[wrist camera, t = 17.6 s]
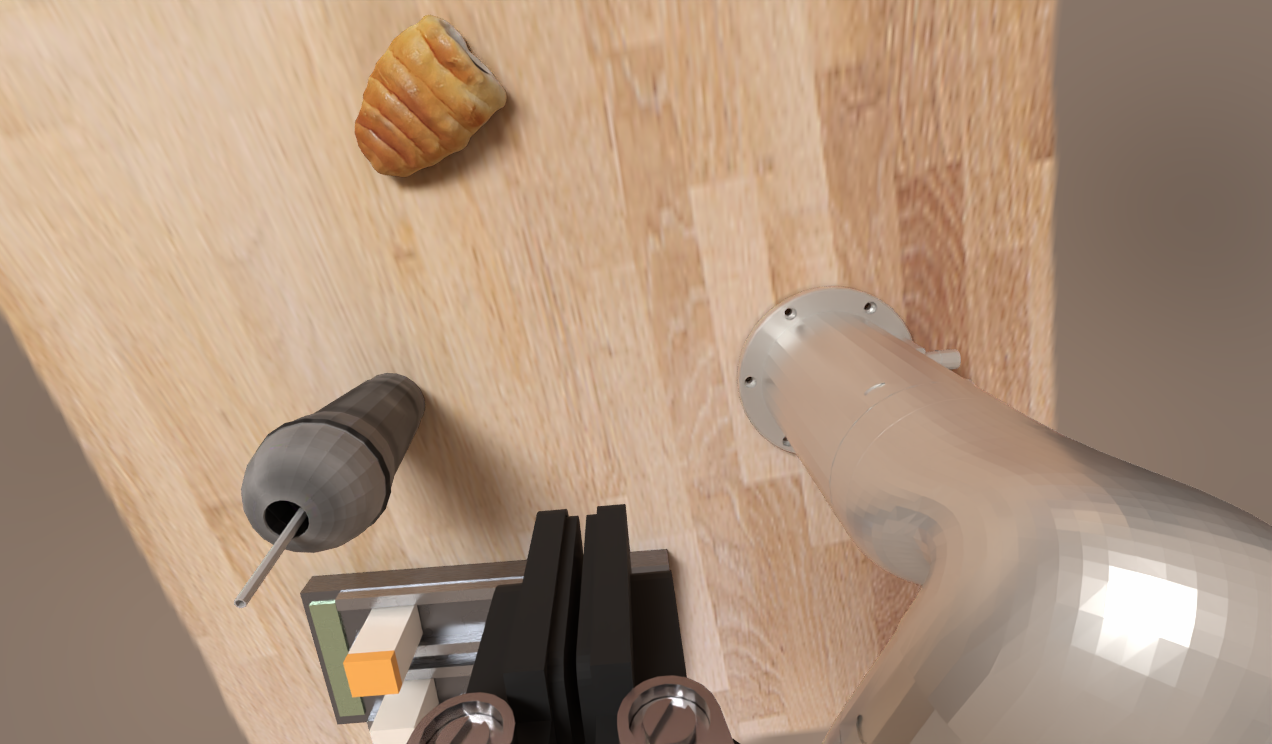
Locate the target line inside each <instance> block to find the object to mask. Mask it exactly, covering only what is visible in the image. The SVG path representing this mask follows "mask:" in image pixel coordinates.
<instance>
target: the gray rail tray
mask: <svg viewBox="0 0 1272 744" xmlns="http://www.w3.org/2000/svg"><path fill="white" fill-rule="evenodd" d="M630 558H631V569H632V573H644V572H655V571H667V570H669V561H668V554H667V549H664V550H651V551H638V552H630ZM526 563H527V560H521V561H508V562H495V563H482V564H469V565H456V566H443V567H430V568H417V569H404V570H391V571H378V572H365V573H352V574H339V575H325V576H312V578H311V579H310V580H309V582H308V583H307V584H306V586H305V587H304V589H303V590H302V591H301V593H300V594H301V598H302V601H303V605H304V608H305V612H306V615H307V619H308V622H309V626H310V630H311V633H312V637H313V640H314V644H315V647H316V651H317V654H318V658H319V661H320V665H321V668H322V672H323V675H324V679H325V682H326V686H327V689H328V693H329V696H330V700H331V703H332V707H333V710H334V714H335V717H336V721H337V724H349V723H361V722H367V724H368V728H369V731H370V729H371V726H372V724H373V722H374V719H375V717H376V715H377V712H378V710H379V708H380V705H381V703H382V701H383V698H384V696H385V695H376V696H363V697H352V694H351V691H350V687H349V683H348V679H347V676H346V672H345V668H344V665H343V662H344V660H345V658H346V656H347V654H348V653H349V651H350V649H351V647H352V645H353V643H354V641H355V640H356V638H357V636H358V634H359V632H360V630H361V628H362V627H363V625H364V623H365V621H366V619H367V617H368V616H369V614H370V612H371V610H372V608H384V607H397V606H409V605H417V608H418V613H419V617H420V622H421V627H422V631H423V635H422V637H421V640H420V642H419V645H418V647H417V650H416V652H415V655H414V657H413V660H412V662H411V665H410V667H409V670H408V672H407V674H406V677H405V679H404V681H407V680H420V679H433V678H434V682H435V687H436V692H437V696H438V701H439V704H441V703H443V702H445V701H446V700H448V699H450V698H453V697H456V696H459V695H462V694H466V691H467V688H468V684H469V680H470V677H471V673H472V670H473V666H474V662H475V659H476V655H477V652H478V648H479V644H480V641H481V637H482V634H483V630H484V626H485V623H486V619H487V615H488V612H489V608H490V605H491V601H492V597H493V594H494V591H495V588H496V587H497V586H498V585H504V584H516V583H522V582H523V577H524V572H525V568H526ZM439 704H438V705H439Z"/></svg>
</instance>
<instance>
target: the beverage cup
mask: <svg viewBox="0 0 1272 744" xmlns="http://www.w3.org/2000/svg"><path fill="white" fill-rule="evenodd" d="M424 410H425V400H424V397H423V395H422V392H421V390H420V389H419V388H418V386H417V385H416V384H415V383H414V382H413V381H411V380H410V379H408V378H407V377H405V376H402V375H399V374H393V373H385V374H381V375H377V376H375V377H374V378H372V379H370V380H367V381H365V382H364V383H362V384H361V385H359V386H357V387H356V388H354V389H352V390H351V391H349V392H348V393H346V394H344V395H343V396H341V397H340V398H338V399H336V400H335V401H333V402H332V403H330V404H328V405H327V406H325V407H324V408H322V409H320V410H319V411H317V412H315V413H314V414H311V415H307V416H304V417H302V418H299V419H297V420H294V421H292V422H288V423H284V424H283V425H281V426H280V427H278V428H277V429H275V430H274V431H272V432H271V433H269V434H268V435H267V437H266V438H265V439H264V441H263V442H262V444H261V445H260V446H259V448H258V449H257V451H256V453H255V454H254V456H253V457H252V459H251V460H250V462H249V463H248V465H247V468H246V471H245V475H244V479H243V484H242V488H241V495H242V502H243V508H244V512H245V514H246V516H247V518H248V520H249V522H250V523H251V525H252V527H253V528H254V529H255V530H256V532H257V533H258V534H259V535H260V536H261V537H262V538H263V539H265V540H267V541H268V542H270V543H272V544H273V546H272V548H271V549H270V551H269V552H268V554H267V555H266V556H265V558H264V559H263V561H262V562H261V564H260V565H259V566H258V568H257V569H256V571H255V572H254V573H253V575H252V576H251V578H250V579H249V581H248V582H247V583H246V585H245V586H244V588H243V589H242V590H241V592H240V593H239V595H238V596H237V598H236V599H235V600H234V605H235V606H237V607H239V608H243V607H246V605H247V604H248V602H249V601H250V599H251V598H252V597H253V595H254V594H255V592H256V591H257V589H258V588H259V586H260V585H261V583H262V582H263V580H264V579H265V577H266V576H267V574H268V573H269V572H270V570H271V569H272V567H273V566H274V564H275V563H276V561H277V560H278V558H279V557H280V555H281V554H282V552H283V551H284V550H285V549H286V550H290V551H293V552H310V553H315V552H320V551H324V550H328V549H332V548H336V547H339V546H341V545H343V544H345V543H347V542H348V541H350V540H352V539H353V538H355V537H357V536H358V535H360V534H361V533H362V532H364V531H365V530H366V529H367V528H368V527H369V526H371V525H372V524H374V523H375V522H376V520H377V519H378V518H379V517H380V515H381V514H382V513H383V512H384V510H385V509H386V506H387V503H388V500H389V497H390V494H391V486H392V483H393V479H394V475H395V473H396V471H397V469H398V467H399V465H400V463H401V461H402V459H403V457H404V455H405V453H406V451H407V449H408V447H409V445H410V443H411V441H412V439H413V437H414V435H415V433H416V431H417V429H418V427H419V424H420V421H421V418H422V416H423V413H424Z"/></svg>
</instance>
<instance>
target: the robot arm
mask: <svg viewBox="0 0 1272 744" xmlns="http://www.w3.org/2000/svg"><path fill="white" fill-rule="evenodd" d="M867 303H869V306H868V307H867V308H866V309H864V307H865V305H866V304H867ZM787 308H790V313H789V314H785V313H784V312H785V310H786V309H787ZM960 363H961V357H960V354H959V352H958V351H957V349H948V350H935V351H934V352H925V349H924V348H923V347H921V346H919V345H917V344H916V343H914V342H913V341H912V337H911V334H910V333H909V331H908V329H907V327H906V325H905V323H904V321H903V320H902V319H901V318H900V317H899V315H898V314H897V313H896V312H895V311H894V310H893V309H892V308H891V307H890V306H888V305H887V304H886V303H884V302H883V301H882V300H880V299H878V298H876V297H874V296H872V295H871V294H869V293H866V292H863V291H860V290H857V289H854V288H848V287H840V286H828V287H817V288H813V289H809V290H806V291H802V292H799V293H797V294H795V295H793V296H791V297H789V298H786V299H785V300H783V301H782V302H780V303H779V304H777V305H776V306H775V307H773V308H772V309H770V310H769V311H768V312H767V313H766V314H765V315H764V316H763V317H762V318H761V319H760V320H759V321H758V323H757V324H756V326H755V327H754V328H753V330H752V331H751V333H750V334H749V336H748V338H747V340H746V342H745V344H744V347H743V349H742V351H741V355H740V359H739V363H738V369H737V386H738V392H739V398H740V401H741V403H742V406H743V408H744V411H745V413H746V415H747V417H748V418H749V420H750V422H751V424H752V425H753V426H754V427H755V428H756V430H757V431H758V432H759V433H760V434H761V435H762V436H763V437H764V438H765V439H767V440H768V441H769V442H770V443H772V444H773V445H775V446H777V447H779V448H781V449H782V450H785V451H788V452H791V453H794V454H797V455H798V457H799V458H800V460H801V462H802V463H803V465H804V466H805V468H806V469H807V471H808V473H809V474H810V476H811V477H812V479H813V480H814V482H815V484H816V485H817V487H818V488H819V490H820V491H821V493H822V495H823V496H824V498H825V499H826V501H827V502H828V504H829V506H830V507H831V509H832V510H833V512H834V513H835V515H836V517H837V518H838V519H839V521H840V522H841V524H842V526H843V527H844V529H845V530H846V532H847V533H848V535H849V536H850V538H851V539H852V541H853V542H854V543H855V544H856V546H857V547H858V548H859V549H860V550H861V551H862V553H863V554H864V555H866V556H867V557H868V558H869V559H870V560H871V561H872V562H874V563H875V564H876V565H878V566H879V567H881V568H882V569H884V570H885V571H887V572H889V573H891V574H893V575H895V576H896V577H899V578H901V579H903V580H906V581H909V582H912V583H915V584H918V585H922V588H921V589H920V591H919V593H918V594H917V596H916V598H915V599H914V601H913V602H912V604H911V606H910V607H909V609H908V610H907V611H906V613H905V614H904V616H903V617H902V619H901V620H900V622H899V624H898V628H897V630H896V632H895V633H894V634H893V636H892V637H891V639H890V640H889V642H888V643H887V645H886V646H885V648H884V649H883V651H882V652H881V653H880V655H879V656H878V658H877V659H876V661H875V662H874V664H873V665H872V667H871V668H870V670H869V671H868V672H867V674H866V675H865V677H864V678H863V680H862V681H861V683H860V684H859V686H858V687H857V688H856V690H855V691H854V693H853V694H852V696H851V697H850V699H849V700H848V702H847V703H846V705H845V706H844V707H843V709H842V711H841V712H840V714H839V715H838V717H837V718H836V720H835V721H834V723H833V725H832V726H831V728H830V730H829V731H828V734H827V735H826V737H825V739H824V740H823V742H822V744H1272V526H1271V525H1269V524H1268V523H1266V522H1264V521H1262V520H1261V519H1259V518H1257V517H1255V516H1254V515H1252V514H1251V513H1249V512H1246V511H1245V510H1243V509H1240V508H1238V507H1236V506H1234V505H1232V504H1230V503H1228V502H1226V501H1223V500H1221V499H1219V498H1217V497H1215V496H1212V495H1210V494H1208V493H1206V492H1204V491H1201V490H1199V489H1197V488H1194V487H1192V486H1189V485H1186V484H1184V483H1181V482H1179V481H1176V480H1174V479H1171V478H1168V477H1166V476H1163V475H1160V474H1158V473H1155V472H1152V471H1149V470H1147V469H1145V468H1142V467H1139V466H1137V465H1134V464H1131V463H1129V462H1126V461H1124V460H1121V459H1118V458H1116V457H1113V456H1110V455H1108V454H1105V453H1103V452H1100V451H1098V450H1096V449H1094V448H1091V447H1089V446H1087V445H1085V444H1082V443H1080V442H1078V441H1075V440H1073V439H1071V438H1068V437H1067V436H1064V435H1062V434H1060V433H1058V432H1056V431H1055V430H1053V429H1051V428H1049V427H1047V426H1045V425H1043V424H1041V423H1039V422H1037V421H1035V420H1034V419H1032V418H1030V417H1028V416H1027V415H1025V414H1023V413H1021V412H1019V411H1018V410H1016V409H1014V408H1013V407H1011V406H1009V405H1008V404H1006V403H1004V402H1003V401H1001V400H999V399H998V398H996V397H994V396H993V395H991V394H989V393H988V392H986V391H984V390H982V389H980V388H979V387H977V386H976V385H974V383H973V382H972V380H971V379H964V378H962V377H961V376H959V375H958V374H956V373H954V372H953V371H951V370H949V369H957V368H958V367H959V366H960ZM748 377H751V380H750V381H745V379H746V378H748ZM785 436H786V439H783V438H784V437H785ZM406 744H740V743H738V742H737V741H735V740H734V739H732V737H731V734H730V731H729V729H728V726H727V724H726V721H725V718H724V716H723V713H722V711H721V708H720V705H719V704H718V702H717V700H716V699H715V697H714V695H713V694H712V693H711V692H710V691H709V690H708V689H707V688H705V687H704V686H703V685H702V684H700V683H698V682H696V681H694V680H691V679H689V678H687V675H686V669H685V662H684V655H683V648H682V641H681V634H680V627H679V620H678V613H677V606H676V599H675V592H674V586H673V579H672V572H671V570H667V571H655V572H644V573H632V569H631V558H630V547H629V536H628V526H627V515H626V505H625V504H621V505H609V506H598V507H597V514H593V515H587V517H586V529H585V543H584V555H583V547H582V538H581V530H580V522H579V517H578V516H570V517H569V516H568V511H567V509H562V510H550V511H539V512H538V513H537V517H536V521H535V526H534V531H533V535H532V540H531V544H530V549H529V554H528V558H527V563H526V568H525V572H524V577H523V582H522V583H516V584H504V585H498V586H497V587H496V588H495V591H494V594H493V597H492V601H491V605H490V608H489V612H488V615H487V619H486V623H485V626H484V630H483V634H482V637H481V641H480V644H479V648H478V652H477V655H476V659H475V662H474V666H473V670H472V673H471V677H470V680H469V684H468V688H467V691H466V694H462V695H459V696H456V697H453V698H450V699H448V700H446V701H445V702H443V703H441V704H439V705H438V706H436V707H434V708H433V709H432V710H431V711H430V712H429V713H428V714H427V715H425V716H424V717H423V718H422V719H421V721H420V722H419V723H418V725H417V726H416V728H415V729H414V731H413V732H412V734H411V736H410V738H409V739H408V741H407V743H406Z"/></svg>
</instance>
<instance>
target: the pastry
mask: <svg viewBox="0 0 1272 744" xmlns="http://www.w3.org/2000/svg"><path fill="white" fill-rule="evenodd" d="M506 100H507V97H506V91H505V89H504V88H503V86H502V85H501V84H500V83H499V82H498V80H496V78H495V77H494V75H493V74H492V72H491V71H490V70H489V69H488V68H487V67H486V66H485V65H484V64H483V63H481V61H480V60H479V59H477V58H476V57H475V56H474V55H473V54H472V53H470V52H469V50H468V48H467V45H466V42H465V40H464V39H463V37H462V36H461V34H460V33H459V32H458V31H457V30H456V29H455V28H454V27H453V26H452V25H451V24H450V23H448V22H447V21H445V20H443V19H441V18H439V17H436V16H432V15H426V16H424V17H423V18H422V20H421V21H420V22H418V23H417V24H415V25H413V26H410V27H408V28H407V29H406V30H404V31H403V32H402V33H401V34H400V35H399V36H397V37H396V38H395V39H394V40H393V41H392V43H391V44H390V46H389V48H388V49H387V51H386V53H385V54H384V55H383V56H382V57H381V58H380V59H379V60H378V62H377V63H376V66H375V69H374V71H373V73H372V74H371V75H370V77H369V79H368V85H367V88H366V90H365V92H364V94H363V102H362V107H361V110H360V112H359V115H358V117H357V119H356V121H355V135H356V138H357V142H358V146H359V147H360V149H361V151H362V153H363V154H364V155H365V157H366V158H367V159H368V160H369V161H370V162H371V164H372V166H373V168H374V169H375V170H376V171H377V172H378V173H380V174H383V175H391V176H399V177H407V176H410V175H411V174H413V173H415V172H417V171H418V170H421V169H422V168H426V167H429V166H433V165H435V164H437V163H438V162H440V161H441V160H443V159H444V158H445V157H446V156H448V155H450V154H452V153H454V152H458V151H461V150H462V149H464V148H465V147H466V146H467V144H468V142H469V139H470V137H471V136H472V135H474V134H475V133H476V132H477V131H478V130H479V128H480V127H481V126H483V125H484V124H485V123H486V122H487V121H488V120H489V119H490V117H491V116H492V115H493V114H494V113H495V112H496V111H497V110H499V109H501V108H503V107H504V106H505V103H506Z"/></svg>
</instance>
